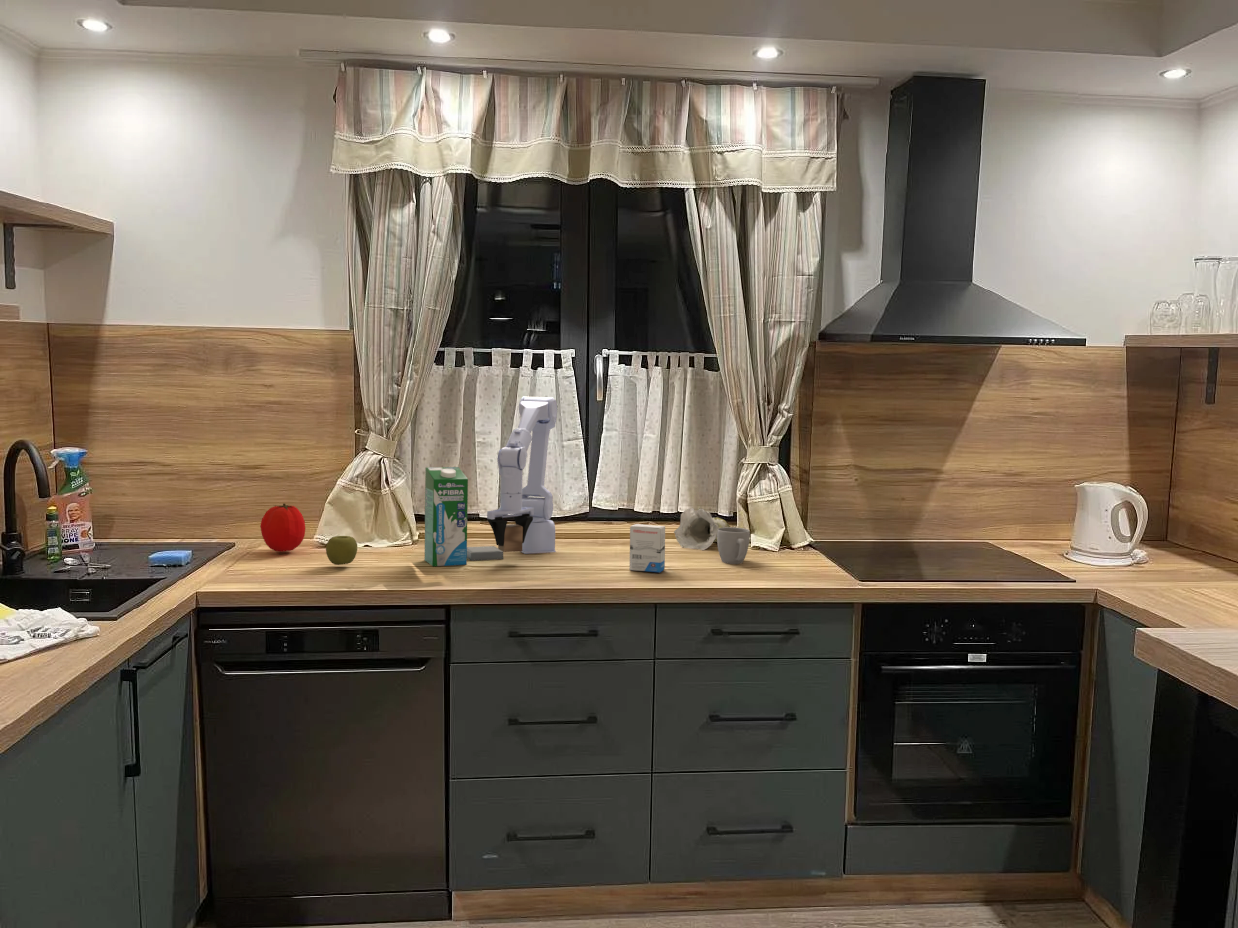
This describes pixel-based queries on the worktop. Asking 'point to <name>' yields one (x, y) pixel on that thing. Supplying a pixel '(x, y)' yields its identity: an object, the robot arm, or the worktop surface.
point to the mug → (733, 544)
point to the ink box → (647, 548)
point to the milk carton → (446, 516)
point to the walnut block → (512, 538)
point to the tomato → (283, 528)
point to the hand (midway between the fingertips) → (510, 543)
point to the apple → (341, 549)
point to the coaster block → (484, 553)
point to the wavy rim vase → (698, 529)
